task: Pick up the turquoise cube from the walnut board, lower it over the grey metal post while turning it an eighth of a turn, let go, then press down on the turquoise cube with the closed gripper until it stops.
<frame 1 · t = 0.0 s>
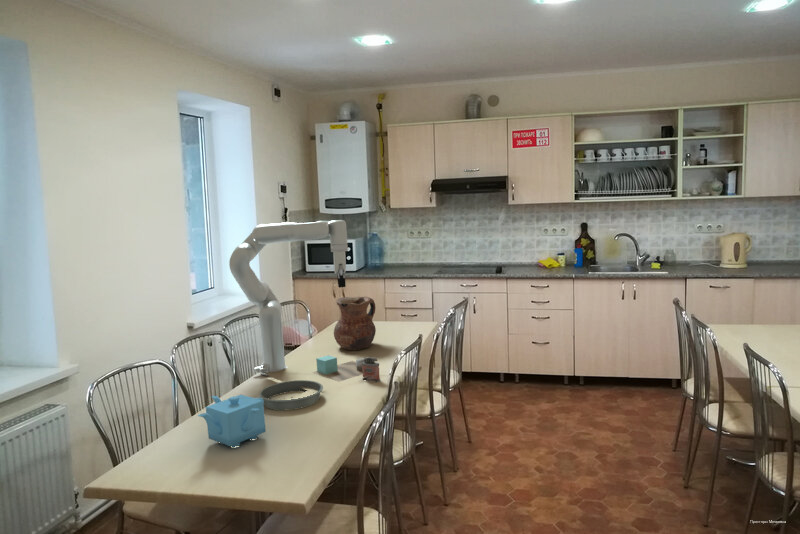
hand: (341, 285, 276), 37 cm above the table, tool pointing down, fingers open, 9 cm apart
teakettle: (235, 441, 201), on the table
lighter: (371, 380, 258), on the table
jug: (355, 347, 314), on the table
turquoise cube: (327, 371, 269), point 1 cm above the table, touching post board
cake pan: (292, 401, 239), on the table
post board: (346, 373, 269), on the table
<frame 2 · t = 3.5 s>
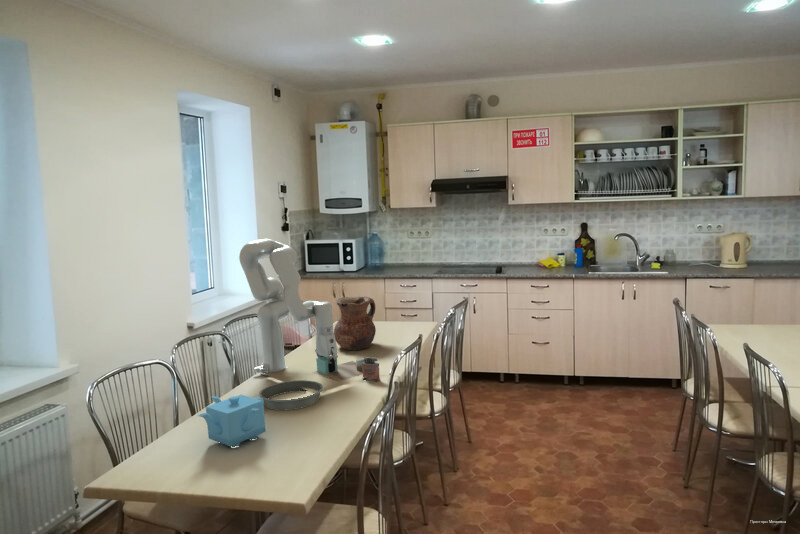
hand: (327, 369, 268), 2 cm above the table, tool pointing down, fingers closed on turquoise cube, 6 cm apart
turquoise cube: (327, 371, 269), point 1 cm above the table, touching gripper, post board
everything else where it was.
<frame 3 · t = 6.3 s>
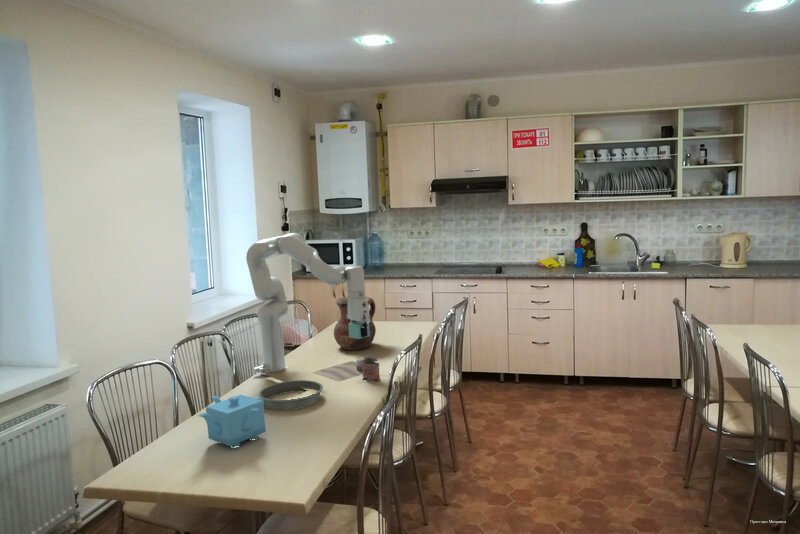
hand: (359, 334, 266), 17 cm above the table, tool pointing down, fingers closed on turquoise cube, 6 cm apart
turquoise cube: (359, 336, 266), point 17 cm above the table, touching gripper
everything else where it was.
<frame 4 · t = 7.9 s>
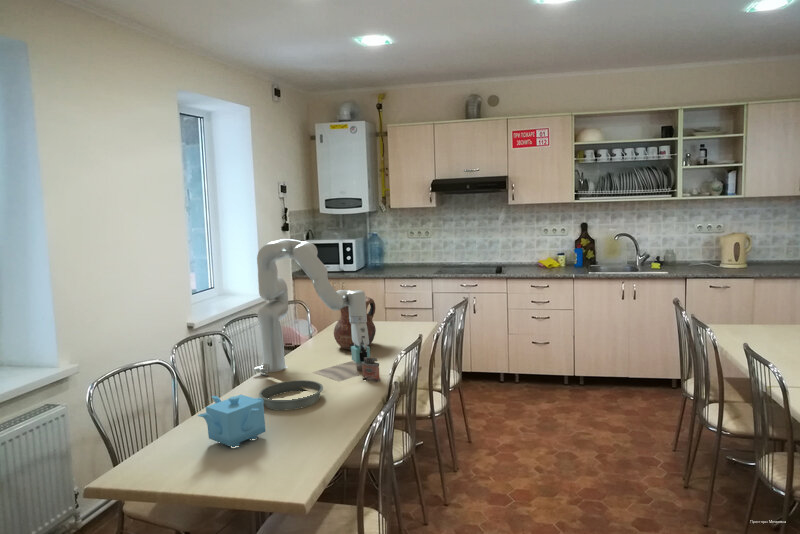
hand: (361, 358, 268), 6 cm above the table, tool pointing down, fingers closed on turquoise cube, 6 cm apart
turquoise cube: (361, 360, 268), point 6 cm above the table, touching gripper
everything else where it was.
when the fingers open (2 cm above the table, at t = 9.2 s): turquoise cube stays where it is, resting on post board.
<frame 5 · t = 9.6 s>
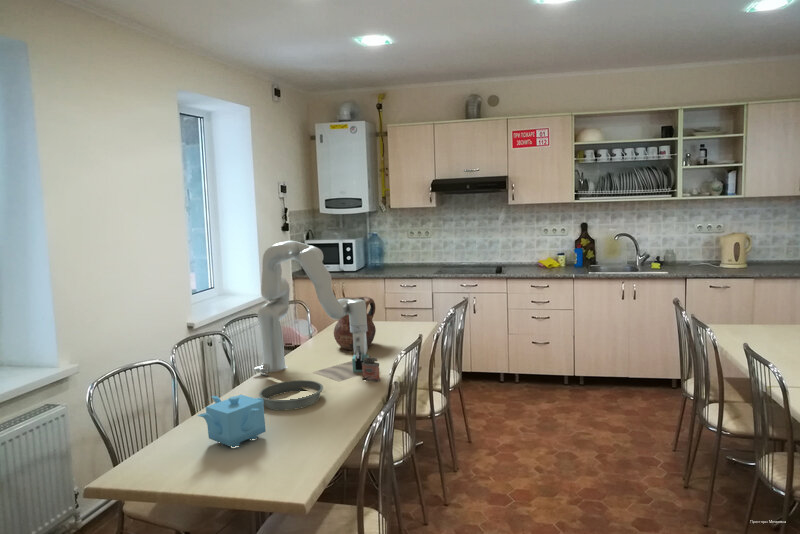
hand: (361, 366, 268), 3 cm above the table, tool pointing down, fingers open, 9 cm apart
turquoise cube: (361, 369, 268), point 1 cm above the table, touching post board
everything else where it was.
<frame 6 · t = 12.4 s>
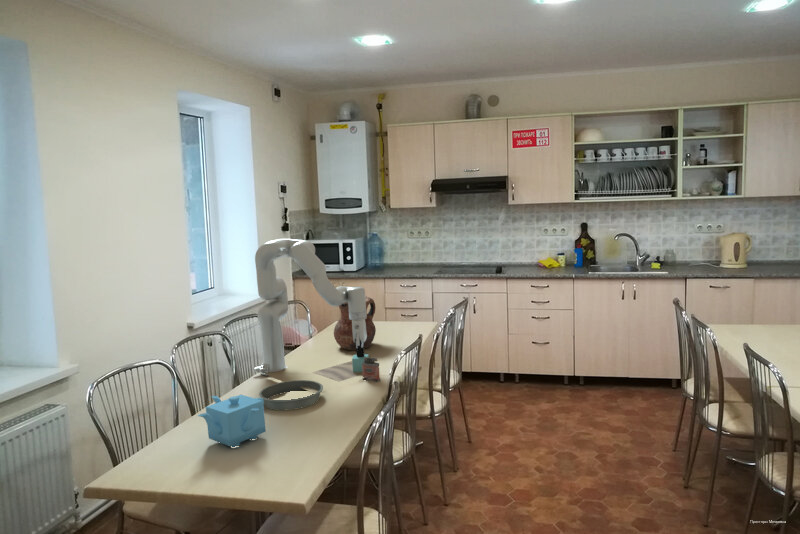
hand: (360, 356, 267), 8 cm above the table, tool pointing down, fingers closed
turquoise cube: (361, 369, 268), point 1 cm above the table, touching gripper, post board
everything else where it was.
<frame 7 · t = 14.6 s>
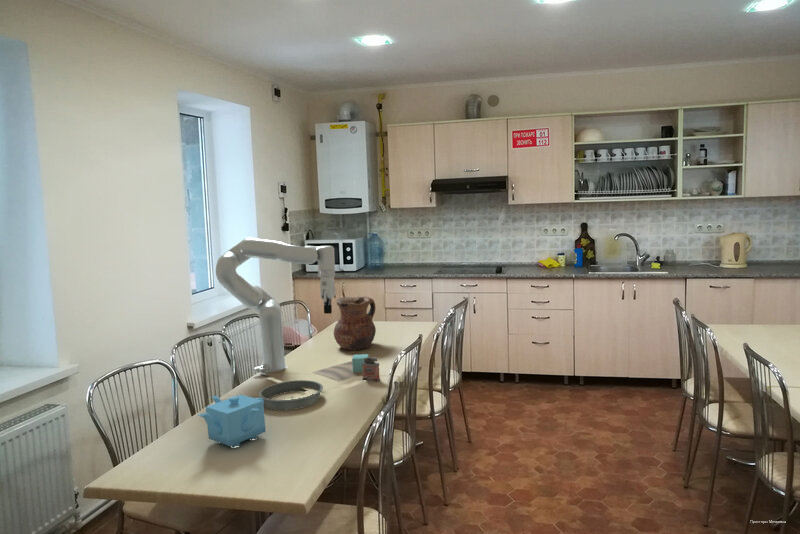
hand: (327, 313, 279), 25 cm above the table, tool pointing down, fingers closed
turquoise cube: (361, 369, 268), point 1 cm above the table, touching post board
everything else where it was.
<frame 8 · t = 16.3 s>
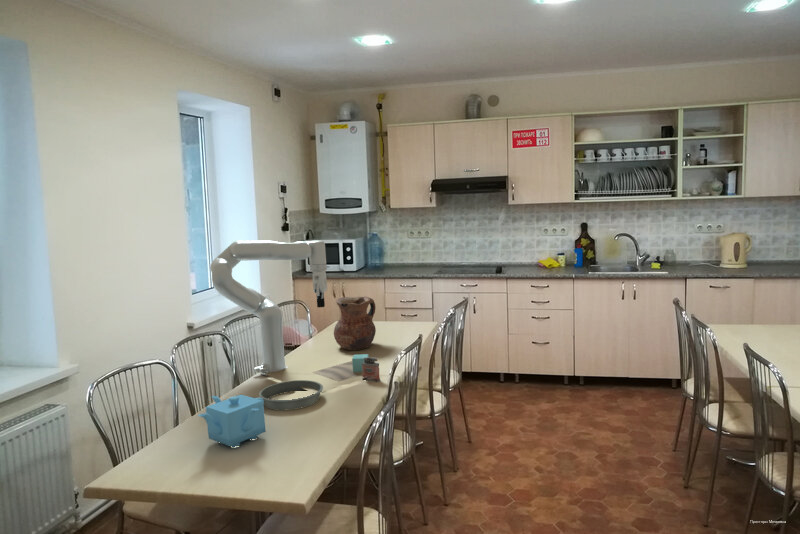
hand: (321, 306, 282), 27 cm above the table, tool pointing down, fingers closed
nothing on the table moved.
at the end: turquoise cube 0.0 cm from the target spot on the post board, point 1.5 cm above the post board's base; turquoise cube tilted 0°; the gripper is holding nothing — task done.
